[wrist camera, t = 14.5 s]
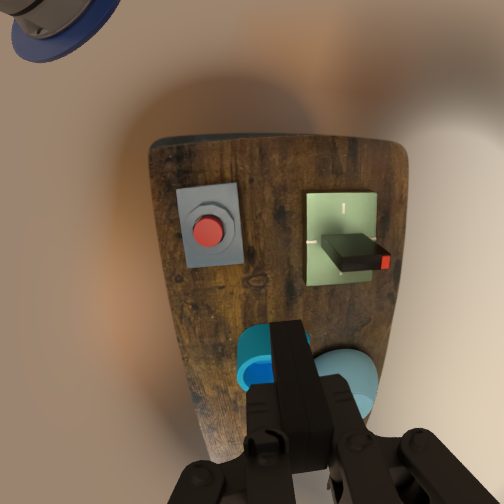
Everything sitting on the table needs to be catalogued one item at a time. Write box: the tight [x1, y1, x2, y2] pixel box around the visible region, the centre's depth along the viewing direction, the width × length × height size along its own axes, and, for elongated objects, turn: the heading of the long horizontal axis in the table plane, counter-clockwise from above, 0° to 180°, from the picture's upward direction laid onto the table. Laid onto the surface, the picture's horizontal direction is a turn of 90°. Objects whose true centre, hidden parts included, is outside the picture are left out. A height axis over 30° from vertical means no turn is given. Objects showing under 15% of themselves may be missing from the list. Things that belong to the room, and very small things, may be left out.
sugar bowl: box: [314, 349, 378, 419], centre depth 46 cm, size 15×15×12 cm
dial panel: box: [302, 190, 377, 286], centre depth 42 cm, size 13×10×3 cm
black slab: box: [322, 233, 391, 272], centre depth 36 cm, size 6×2×9 cm, turn 93°
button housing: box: [176, 181, 244, 268], centre depth 40 cm, size 11×8×4 cm
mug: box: [237, 324, 310, 392], centre depth 44 cm, size 12×8×8 cm
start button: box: [193, 216, 223, 247], centre depth 38 cm, size 4×4×2 cm
